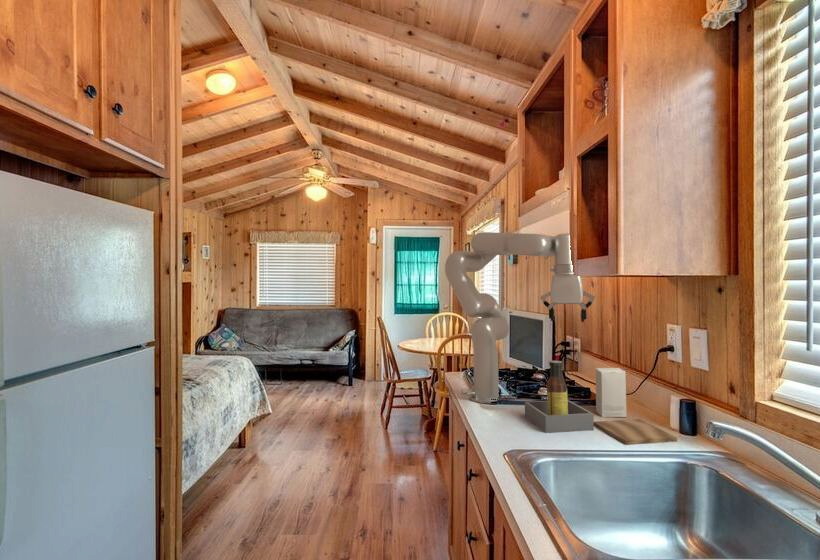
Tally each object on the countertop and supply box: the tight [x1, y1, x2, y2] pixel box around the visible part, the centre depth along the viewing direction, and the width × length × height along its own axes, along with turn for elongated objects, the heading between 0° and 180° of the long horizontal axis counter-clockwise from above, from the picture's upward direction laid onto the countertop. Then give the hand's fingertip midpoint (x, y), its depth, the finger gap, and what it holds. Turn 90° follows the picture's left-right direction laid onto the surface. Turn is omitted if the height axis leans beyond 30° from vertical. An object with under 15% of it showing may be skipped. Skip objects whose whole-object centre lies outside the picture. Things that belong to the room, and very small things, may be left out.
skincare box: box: [595, 367, 628, 418], centre depth 146 cm, size 8×7×16 cm
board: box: [594, 418, 678, 446], centre depth 128 cm, size 16×16×1 cm
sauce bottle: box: [546, 360, 569, 415], centre depth 137 cm, size 7×6×20 cm
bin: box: [524, 399, 595, 434], centre depth 137 cm, size 16×16×5 cm
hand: (567, 321), depth 143 cm, fingers open, 9 cm apart
